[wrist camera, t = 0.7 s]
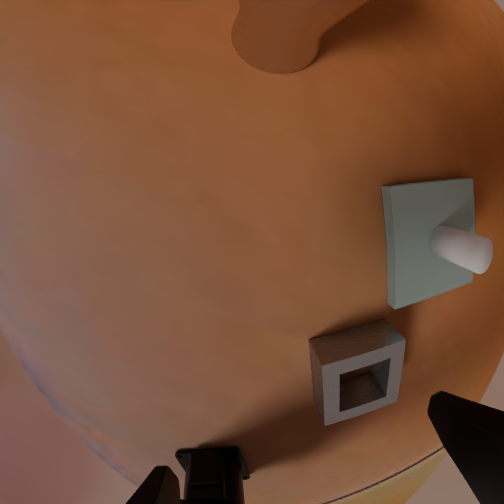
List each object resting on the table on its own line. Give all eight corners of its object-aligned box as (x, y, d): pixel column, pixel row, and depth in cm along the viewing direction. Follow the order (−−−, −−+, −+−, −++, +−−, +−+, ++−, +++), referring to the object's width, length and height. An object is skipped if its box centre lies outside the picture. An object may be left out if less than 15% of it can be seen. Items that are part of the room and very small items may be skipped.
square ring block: (380, 378, 22) (396, 401, 19) (313, 398, 22) (324, 426, 19) (384, 318, 21) (405, 339, 17) (308, 339, 21) (321, 365, 17)
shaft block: (464, 277, 21) (508, 300, 15) (387, 303, 20) (430, 339, 15) (463, 177, 19) (515, 181, 13) (381, 186, 18) (434, 190, 13)
